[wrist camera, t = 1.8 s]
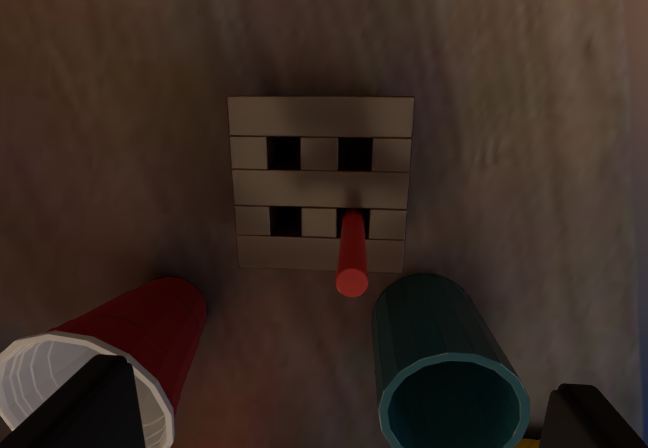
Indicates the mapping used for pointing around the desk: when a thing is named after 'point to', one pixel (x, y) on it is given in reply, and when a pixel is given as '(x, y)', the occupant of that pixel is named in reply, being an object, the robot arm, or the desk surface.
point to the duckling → (528, 443)
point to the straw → (352, 255)
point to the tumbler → (442, 370)
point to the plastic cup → (113, 353)
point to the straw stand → (319, 178)
